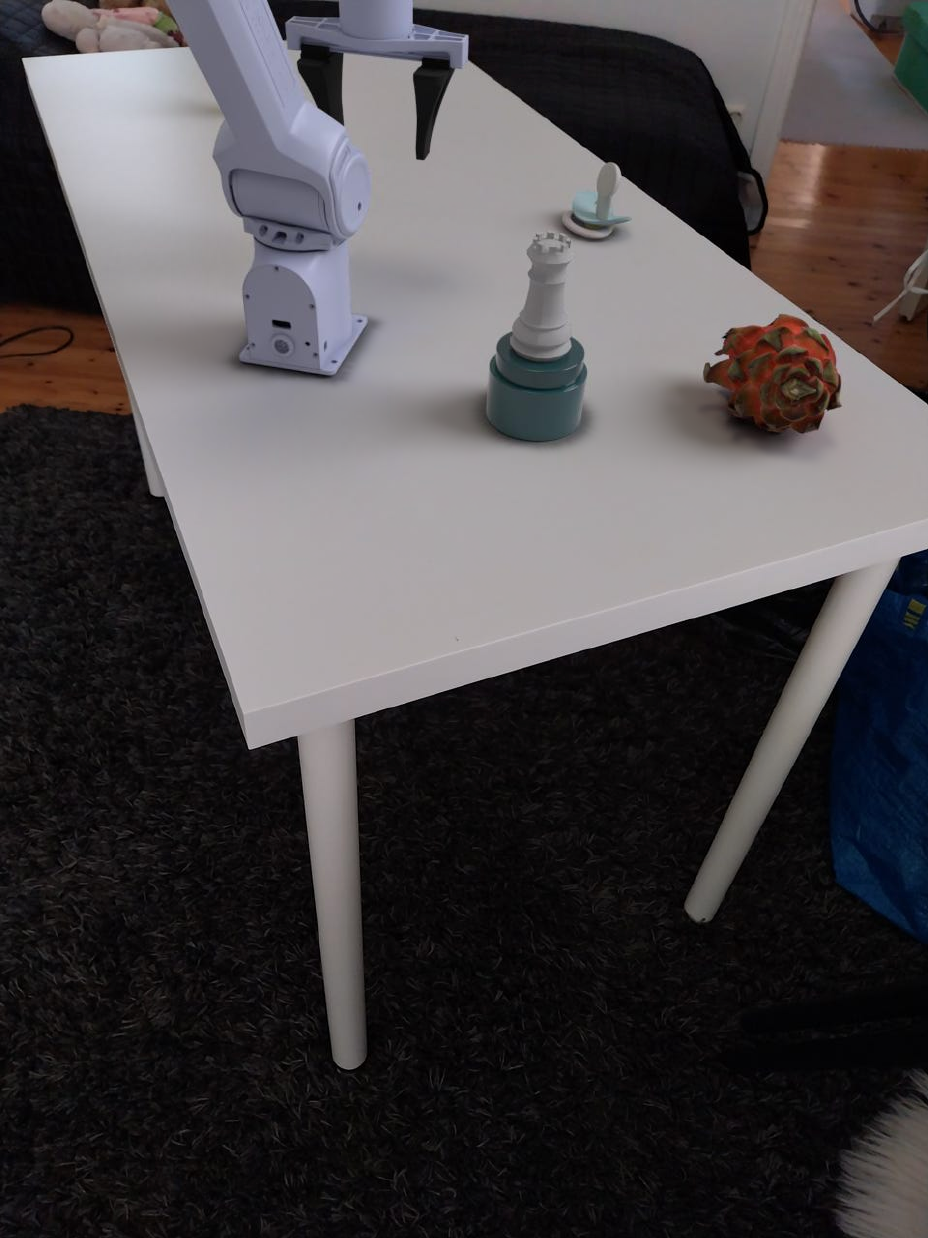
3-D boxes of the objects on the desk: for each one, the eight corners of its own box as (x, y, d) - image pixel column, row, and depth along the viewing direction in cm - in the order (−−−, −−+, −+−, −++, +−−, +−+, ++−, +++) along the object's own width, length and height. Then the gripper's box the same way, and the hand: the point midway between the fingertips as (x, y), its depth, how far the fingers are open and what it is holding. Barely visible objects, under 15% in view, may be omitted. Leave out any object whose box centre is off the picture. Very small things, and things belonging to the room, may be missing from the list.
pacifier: (585, 248, 95) (636, 237, 97) (592, 183, 91) (646, 173, 93) (549, 219, 100) (599, 210, 102) (554, 156, 95) (606, 147, 97)
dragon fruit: (797, 483, 71) (709, 418, 80) (890, 405, 70) (791, 348, 79) (755, 407, 65) (666, 346, 75) (856, 321, 64) (753, 270, 73)
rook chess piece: (566, 368, 68) (581, 257, 62) (504, 359, 68) (513, 248, 62) (574, 337, 71) (589, 229, 65) (514, 329, 71) (524, 221, 66)
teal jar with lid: (573, 448, 70) (583, 381, 66) (477, 432, 71) (481, 365, 67) (586, 397, 75) (596, 332, 71) (496, 383, 76) (501, 318, 72)
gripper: (479, -41, 75) (472, 143, 84) (301, -58, 76) (314, 124, 86) (459, -19, 70) (453, 174, 80) (269, -38, 72) (287, 152, 81)
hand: (379, 150), depth 83 cm, fingers open, 7 cm apart
